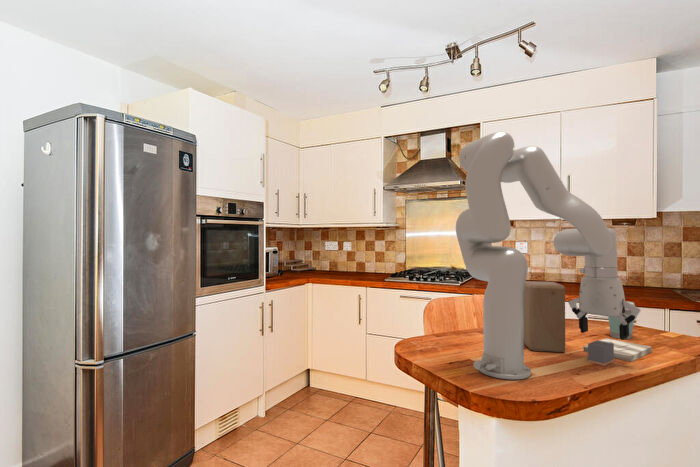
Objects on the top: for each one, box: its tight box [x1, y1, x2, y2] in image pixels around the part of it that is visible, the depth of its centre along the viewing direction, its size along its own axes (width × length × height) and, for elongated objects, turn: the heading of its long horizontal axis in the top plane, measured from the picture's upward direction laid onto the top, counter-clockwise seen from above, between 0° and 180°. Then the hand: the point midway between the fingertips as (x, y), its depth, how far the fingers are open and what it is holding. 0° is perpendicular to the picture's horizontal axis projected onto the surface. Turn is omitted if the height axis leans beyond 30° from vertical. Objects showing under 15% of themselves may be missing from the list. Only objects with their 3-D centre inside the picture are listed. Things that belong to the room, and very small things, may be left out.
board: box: [582, 338, 653, 363], centre depth 114 cm, size 16×12×2 cm
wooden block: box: [524, 280, 566, 353], centre depth 118 cm, size 10×10×20 cm
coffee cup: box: [607, 300, 636, 340], centre depth 131 cm, size 8×8×12 cm
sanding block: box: [587, 339, 615, 366], centre depth 105 cm, size 6×4×5 cm, turn 125°
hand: (603, 335), depth 105 cm, fingers open, 9 cm apart
